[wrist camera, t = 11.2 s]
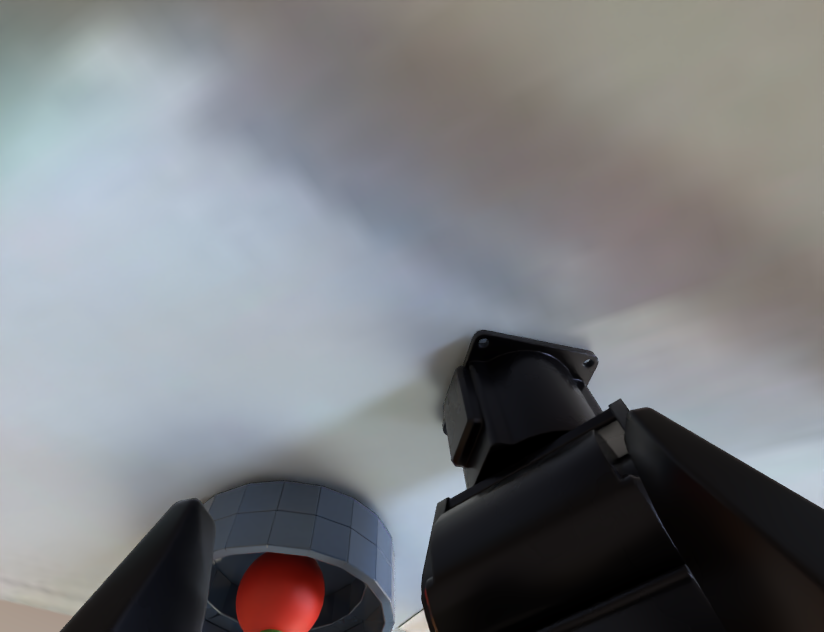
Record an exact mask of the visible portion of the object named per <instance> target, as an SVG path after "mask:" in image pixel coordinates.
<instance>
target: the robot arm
mask: <svg viewBox="0 0 824 632" xmlns="http://www.w3.org/2000/svg"><path fill="white" fill-rule="evenodd" d="M481 339H487V341H486V342H485V343H479V341H480V340H481ZM587 359H590V361H589V362H587V363H584V361H585V360H587ZM597 365H598V358H597V357H596V356H595V354H594V353H593V352H591V351H588V350H583V349H578V348H573V347H568V346H563V345H558V344H553V343H548V342H543V341H538V340H533V339H528V338H522V337H517V336H512V335H507V334H502V333H497V332H492V331H487V330H480V331H478V332H476V333H475V334H474V336H473V338H472V340H471V343H470V346H469V349H468V352H467V355H466V358H465V360H464V363H463V366H459V367H458V368H457V369H456V370H455V373H454V376H453V379H452V381H451V384H450V387H449V390H448V393H447V396H446V399H445V402H444V405H443V409H444V416H445V417H444V420H443V424H442V426H443V431H444V433H445V434H446V435H448V441H449V448H450V454H451V461H452V462H453V464H454V465H455V466H457V467H463V471H464V476H465V482H466V487H467V490H465V491H463V492H462V493H460V494H458V495H456V496H455V497H453V498H451V499H450V498H449V497H448V498H446V499H444V500H442V501H441V502H439V503H438V504H437V507H436V512H435V517H434V522H433V526H432V531H431V536H430V541H429V545H428V550H427V555H426V560H425V565H424V569H423V574H422V583H421V591H422V595H421V600H422V604H423V608H424V613H425V617H426V620H427V624H428V627H429V630H430V632H824V509H822V508H821V507H819V506H817V505H816V504H814V503H812V502H810V501H809V500H807V499H805V498H804V497H802V496H800V495H799V494H797V493H795V492H793V491H792V490H790V489H788V488H787V487H785V486H783V485H781V484H780V483H778V482H776V481H775V480H773V479H771V478H769V477H768V476H766V475H764V474H763V473H761V472H759V471H757V470H756V469H754V468H752V467H751V466H749V465H747V464H746V463H744V462H742V461H740V460H739V459H737V458H735V457H734V456H732V455H730V454H728V453H727V452H725V451H723V450H722V449H720V448H718V447H716V446H715V445H713V444H711V443H710V442H708V441H706V440H705V439H703V438H701V437H699V436H698V435H696V434H694V433H693V432H691V431H689V430H687V429H686V428H684V427H682V426H681V425H679V424H677V423H675V422H674V421H672V420H670V419H669V418H667V417H665V416H664V415H662V414H660V413H658V412H657V411H655V410H653V409H651V408H648V407H645V408H639V409H634V410H630V411H629V409H628V408H627V406H626V405H625V404H624V402H623V401H622V400H621V399H619V400H617V401H615V402H614V403H612V404H610V405H608V406H609V409H607V410H605V411H604V412H603V411H602V410H601V408H600V406H599V405H598V403H597V402H596V400H595V399H594V397H593V396H592V394H591V392H590V391H589V389H588V388H587V385H588V383H589V381H590V379H591V377H592V375H593V373H594V371H595V369H596V367H597ZM215 534H216V526H215V522H214V520H213V518H212V517H211V515H210V514H209V512H208V511H207V510H206V508H205V507H204V505H203V504H202V502H201V501H200V500H199V499H197V498H192V499H187V500H182V501H178V502H176V503H175V504H174V505H173V506H172V507H171V508H170V509H169V510H168V511H167V512H166V513H165V515H164V516H163V517H162V518H161V519H160V520H159V521H158V522H157V523H156V525H155V526H154V527H153V528H152V529H151V530H150V531H149V532H148V534H147V535H146V536H145V537H144V538H143V539H142V540H141V541H140V542H139V544H138V545H137V546H136V547H135V548H134V549H133V550H132V551H131V553H130V554H129V555H128V556H127V557H126V558H125V559H124V560H123V561H122V563H121V564H120V565H119V566H118V567H117V568H116V569H115V570H114V572H113V573H112V574H111V575H110V576H109V577H108V578H107V579H106V580H105V582H104V583H103V584H102V585H101V586H100V587H99V588H98V589H97V591H96V592H95V593H94V594H93V595H92V596H91V597H90V598H89V599H88V601H87V602H86V603H85V604H84V605H83V606H82V607H81V608H80V610H79V611H78V612H77V613H76V614H75V615H74V616H73V617H72V619H71V620H70V621H69V622H68V623H67V624H66V625H65V627H63V629H62V630H61V631H60V632H202V628H203V623H204V618H205V613H206V608H207V601H208V594H209V585H210V577H211V568H212V560H213V551H214V543H215Z"/></svg>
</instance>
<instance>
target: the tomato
mask: <svg viewBox="0 0 824 632" xmlns="http://www.w3.org/2000/svg"><path fill="white" fill-rule="evenodd" d="M324 596H325V584H324V578H323V574H322V571H321V569H320V567H319V565H318V563H317V562H316V560H315V559H313V558H310V557H307V556H299V555H290V554H282V553H273V552H266V553H264V554H262V555H261V556H260V557H258V558H257V559H256V560H255V561H254V562H253V563H252V564H251V565H250V566H249V568H248V569H247V570H246V572H245V573H244V575H243V577H242V579H241V581H240V584H239V587H238V591H237V595H236V614H237V618H238V621H239V624H240V626H241V628H242V630H243V632H308V631H309V630H310V629H311V627H312V626H313V625H314V623H315V622H316V620H317V618H318V616H319V614H320V612H321V609H322V606H323V602H324Z"/></svg>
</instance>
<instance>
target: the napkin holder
mask: <svg viewBox="0 0 824 632" xmlns="http://www.w3.org/2000/svg"><path fill="white" fill-rule="evenodd" d="M399 628H400V629H402V630H405V631H407V632H430V630H429V627H428V624H427V620H426V617H425V613H424V610H422V611H421V612H420V613H418V614H417V615H416V616H414V617H413V618H412V619H410V620H409V621H408V622H406V623H405V624H404V625H402V626H401V627H399Z"/></svg>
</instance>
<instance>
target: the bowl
mask: <svg viewBox="0 0 824 632" xmlns="http://www.w3.org/2000/svg"><path fill="white" fill-rule="evenodd" d="M203 505H204V507H205V508H206V510H207V511H208V512H209V514H210V515H211V517H212V518H213V520H214V522H215V526H216V534H215V543H214V551H213V560H212V568H211V577H210V585H209V594H208V601H207V608H206V613H205V618H204V623H203V628H202V632H243V630H242V628H241V626H240V624H239V621H238V618H237V614H236V595H237V591H238V587H239V584H240V581H241V579H242V577H243V575H244V573H245V572H246V570H247V569H248V568H249V566H250V565H251V564H252V563H253V562H254V561H255V560H256V559H257V558H258V557H260V556H261V555H262V554H264V553H266V552H273V553H282V554H290V555H299V556H307V557H310V558H313V559H315V560H316V562H317V563H318V565H319V567H320V569H321V571H322V574H323V578H324V584H325V596H324V602H323V606H322V609H321V612H320V614H319V616H318V618H317V620H316V622H315V623H314V625H313V626H312V627H311V629H310V630H309V631H308V632H391V631H392V628H393V625H394V623H395V556H394V549H393V543H392V537H391V535H390V533H389V532H388V530H387V529H386V527H385V526H384V524H383V523H382V521H381V520H380V518H379V517H378V516H377V515H376V514H375V513H374V512H372V511H371V510H369V509H368V508H367V507H365V506H364V505H363V504H361V503H360V502H359V501H357V500H356V499H354V498H353V497H350V496H348V495H345V494H342V493H340V492H337V491H335V490H332V489H329V488H327V487H324V486H319V485H312V484H305V483H298V482H291V481H272V482H260V483H249V484H246V485H243V486H240V487H237V488H234V489H231V490H228V491H225V492H222V493H219V494H217V495H215V496H214V497H212V498H211V499H209V500H208V501H207V502H205V503H204V504H203Z"/></svg>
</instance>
